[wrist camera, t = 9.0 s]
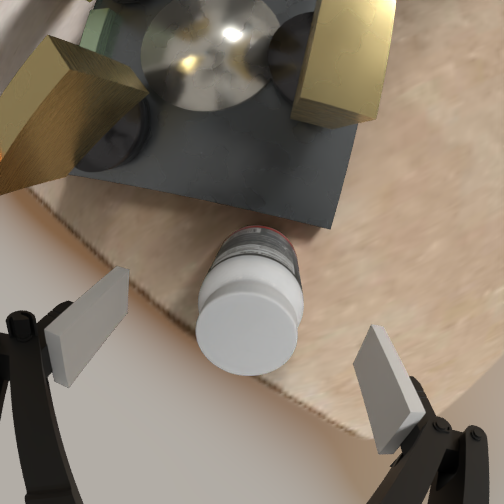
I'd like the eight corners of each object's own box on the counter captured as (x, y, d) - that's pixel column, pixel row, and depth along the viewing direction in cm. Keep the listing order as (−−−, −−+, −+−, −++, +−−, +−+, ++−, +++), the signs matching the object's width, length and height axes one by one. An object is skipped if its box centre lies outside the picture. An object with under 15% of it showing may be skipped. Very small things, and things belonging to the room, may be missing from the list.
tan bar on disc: (128, 53, 17) (25, 8, 7) (178, 119, 18) (84, 103, 8) (54, 130, 19) (-57, 141, 9) (95, 194, 20) (-13, 238, 10)
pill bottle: (277, 306, 24) (276, 398, 15) (209, 279, 24) (170, 360, 15) (310, 241, 22) (331, 311, 13) (235, 210, 22) (205, 261, 13)
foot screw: (282, 4, 15) (284, -90, 6) (379, 30, 15) (447, -38, 6) (256, 114, 18) (234, 83, 8) (357, 139, 18) (430, 140, 8)
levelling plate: (131, -48, 15) (115, -64, 12) (377, -22, 15) (389, -40, 12) (73, 169, 22) (50, 175, 19) (325, 221, 22) (333, 234, 19)
